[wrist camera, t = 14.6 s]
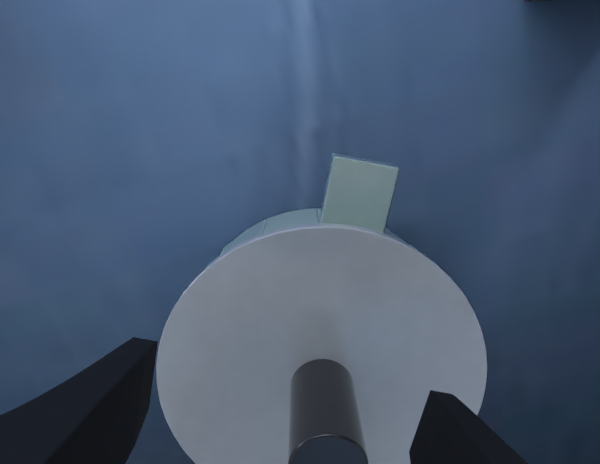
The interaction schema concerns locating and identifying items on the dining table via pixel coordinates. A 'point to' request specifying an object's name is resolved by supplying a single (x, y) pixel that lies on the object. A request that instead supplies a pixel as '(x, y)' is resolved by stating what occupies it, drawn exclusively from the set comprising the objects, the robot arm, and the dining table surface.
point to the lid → (315, 349)
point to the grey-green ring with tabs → (342, 199)
